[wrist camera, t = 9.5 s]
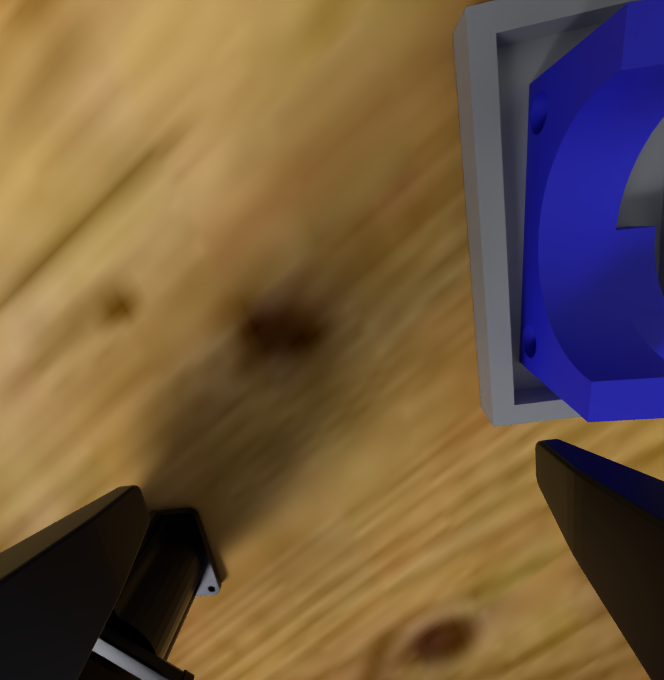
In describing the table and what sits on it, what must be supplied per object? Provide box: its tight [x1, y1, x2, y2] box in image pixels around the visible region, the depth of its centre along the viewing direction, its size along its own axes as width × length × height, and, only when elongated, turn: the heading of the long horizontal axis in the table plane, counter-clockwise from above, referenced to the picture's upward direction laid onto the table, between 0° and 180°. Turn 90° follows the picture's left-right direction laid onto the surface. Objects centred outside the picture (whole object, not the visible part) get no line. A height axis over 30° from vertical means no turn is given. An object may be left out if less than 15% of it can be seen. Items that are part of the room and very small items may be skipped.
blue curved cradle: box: [519, 0, 664, 422], centre depth 14 cm, size 12×4×6 cm, turn 6°
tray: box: [453, 0, 664, 427], centre depth 16 cm, size 17×9×2 cm, turn 11°
